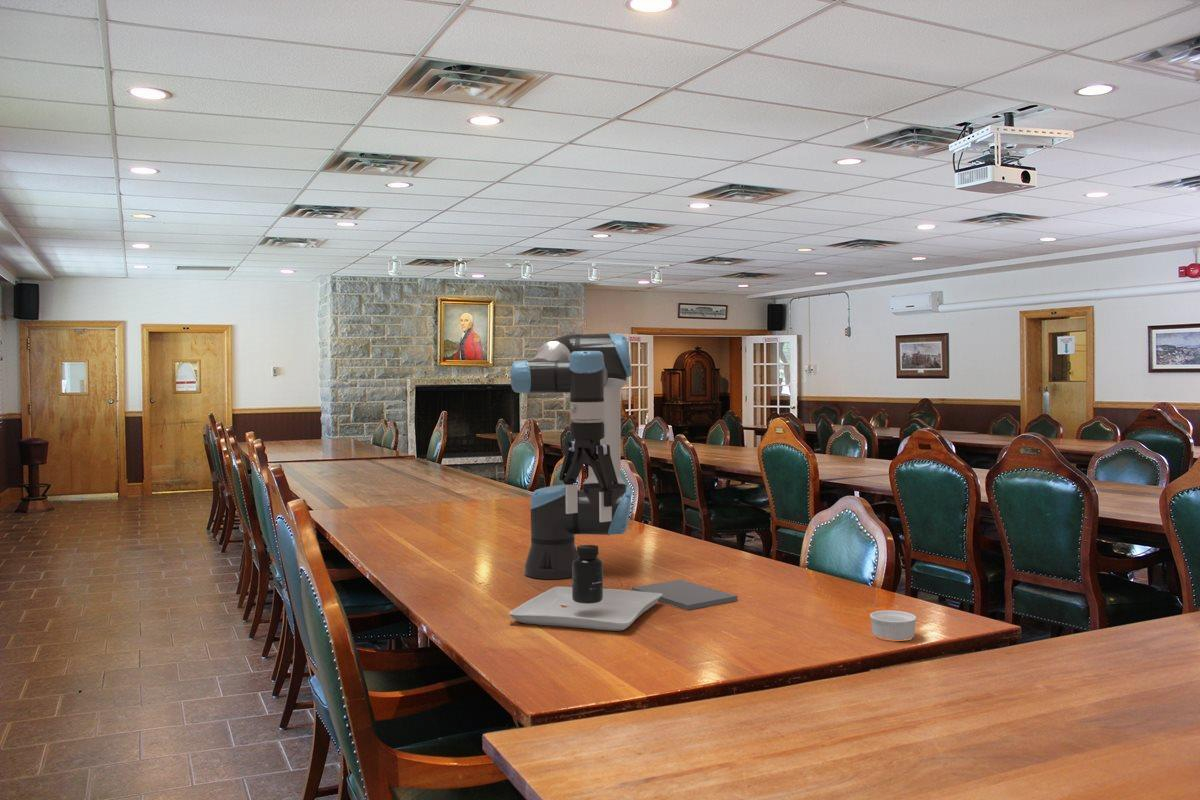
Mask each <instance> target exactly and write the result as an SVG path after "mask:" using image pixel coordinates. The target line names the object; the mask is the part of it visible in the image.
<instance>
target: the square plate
mask: <svg viewBox="0 0 1200 800" xmlns="http://www.w3.org/2000/svg"><path fill="white" fill-rule="evenodd" d="M662 595H663V594H662V593H651V592H640V591H632V590H628V589H618V588H604V587H603V599H602V601H600V602H598V603H590V604H585V603H577V602H575V601H573V599H572V586H553V587H552V588H550V589H548V590H546V591H543V592H541V593H540V594H538V595H536V596H534V597H532V598H530V599H529V600H527V601H525V602H524V603H522V604H520V605H519V606H517V607H516V608H514V609H512V610H511V611H509V612H508V615H509V616H510V617H511V618H512V619H514V620H515V621H517V622H519V623H523V624H527V625H539V626H552V627H565V628H566V627H567V628H577V629H588V630H597V631H598V630H599V631H613V632H615V631H617V632H618V631H619V632H620V631H621V632H622V631H624V630H626V629H627V628H629V627H630V626H631V625H632V624H633V623H634V622H635V621H637V619H638V618H639V617H640V616H642V614H644V613H645V612H646V611H648V610H649V609H651V608H652V607H653V606H655V605H656V604H657V603H658V602H659V601H658V600H659V598H660V597H661V596H662ZM562 606H565V607H562Z"/></svg>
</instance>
